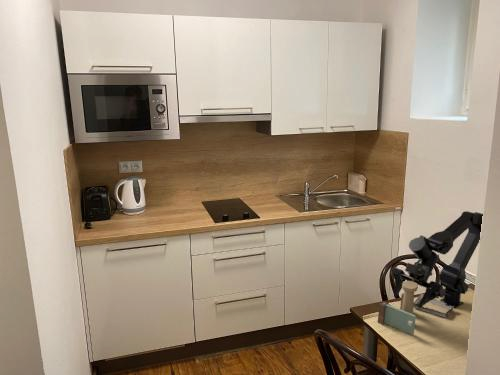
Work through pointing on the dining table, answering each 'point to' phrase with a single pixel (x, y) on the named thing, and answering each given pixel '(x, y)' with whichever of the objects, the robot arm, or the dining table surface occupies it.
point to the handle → (409, 296)
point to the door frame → (382, 311)
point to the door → (399, 319)
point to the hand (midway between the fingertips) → (406, 302)
